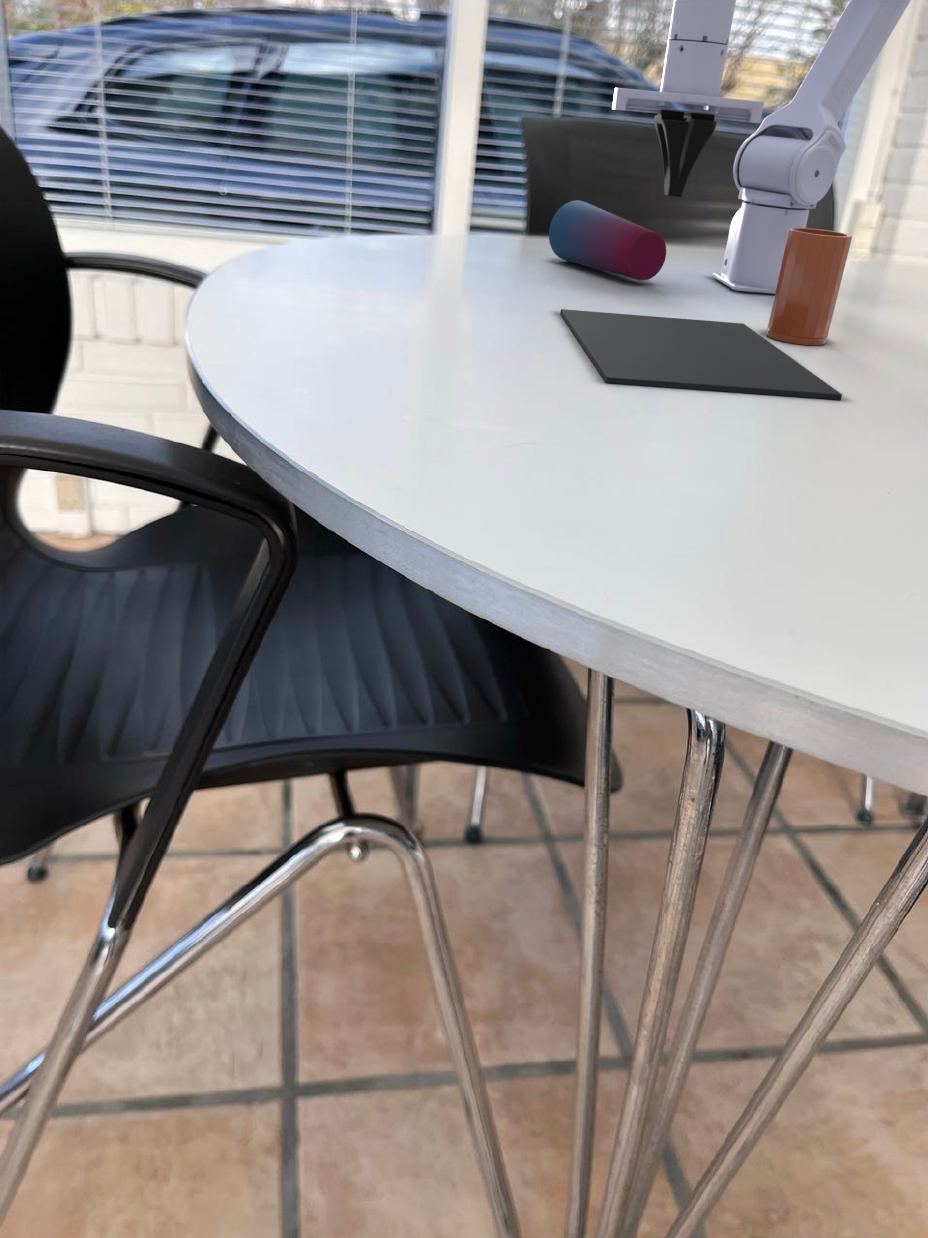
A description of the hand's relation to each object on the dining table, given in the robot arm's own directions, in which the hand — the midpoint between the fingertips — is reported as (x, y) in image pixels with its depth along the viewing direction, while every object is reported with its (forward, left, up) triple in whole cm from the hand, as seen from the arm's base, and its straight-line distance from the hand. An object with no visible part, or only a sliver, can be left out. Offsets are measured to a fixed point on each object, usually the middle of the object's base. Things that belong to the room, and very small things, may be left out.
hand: (672, 195), depth 104 cm
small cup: (+20, +8, -9) cm, 24 cm away
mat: (+29, -4, -9) cm, 31 cm away
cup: (-3, -1, -6) cm, 7 cm away
